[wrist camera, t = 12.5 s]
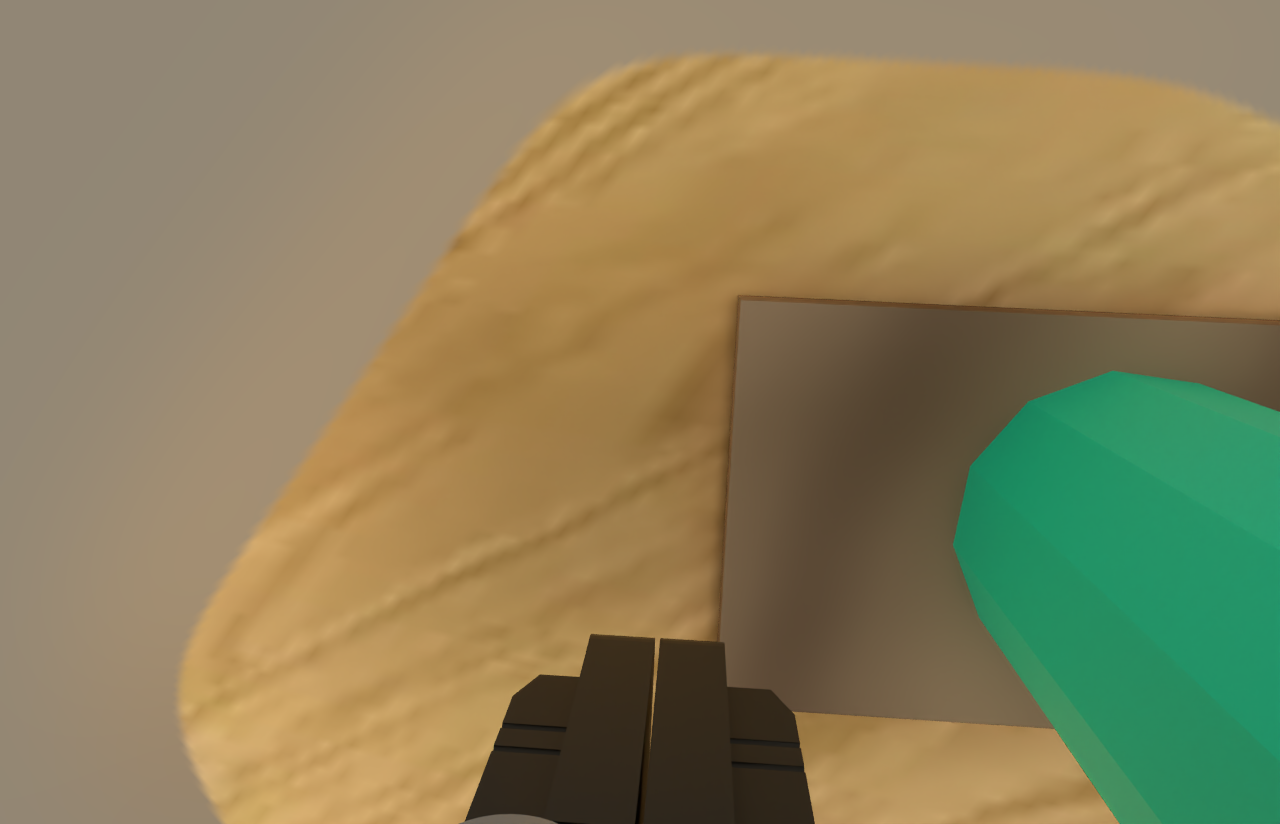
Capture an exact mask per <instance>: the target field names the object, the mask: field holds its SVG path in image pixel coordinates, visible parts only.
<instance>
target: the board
mask: <svg viewBox="0 0 1280 824" xmlns="http://www.w3.org/2000/svg"><path fill="white" fill-rule="evenodd" d="M1110 371H1118V372H1125V373H1131V374H1138V375H1145V376H1152V377H1159V378H1165V379H1172V380H1179V381H1186V382H1193V383H1199V384H1202V385H1205V386H1208V387H1211V388H1213V389H1216V390H1219V391H1222V392H1225V393H1228V394H1230V395H1233V396H1236V397H1239V398H1242V399H1245V400H1247V401H1250V402H1253V403H1256V404H1259V405H1262V406H1264V407H1267V408H1270V409H1273V410H1276V411H1278V412H1280V321H1278V320H1256V319H1235V318H1213V317H1192V316H1170V315H1149V314H1127V313H1106V312H1085V311H1063V310H1042V309H1020V308H999V307H977V306H956V305H934V304H913V303H891V302H870V301H849V300H827V299H806V298H784V297H763V296H741V295H739V298H738V314H737V330H736V347H735V363H734V379H733V395H732V412H731V428H730V444H729V460H728V477H727V493H726V509H725V526H724V542H723V558H722V574H721V591H720V607H719V623H718V639H717V642H724V643H725V658H726V676H727V687H740V688H755V689H770V690H772V691H773V692H774V693H775V694H776V696H777V697H778V698H779V699H780V700H781V701H782V702H783V703H784V704H785V705H786V706H787V707H788V708H789V709H790V710H791V711H794V712H809V713H824V714H839V715H855V716H870V717H885V718H900V719H915V720H930V721H945V722H960V723H976V724H991V725H1006V726H1021V727H1036V728H1051V729H1055V728H1054V727H1053V725H1052V724H1051V722H1050V721H1049V719H1048V718H1047V716H1046V715H1045V714H1044V712H1043V711H1042V709H1041V708H1040V706H1039V705H1038V703H1037V702H1036V700H1035V699H1034V697H1033V696H1032V694H1031V693H1030V692H1029V690H1028V689H1027V687H1026V686H1025V684H1024V683H1023V681H1022V680H1021V678H1020V677H1019V675H1018V674H1017V673H1016V671H1015V670H1014V668H1013V667H1012V665H1011V664H1010V662H1009V661H1008V659H1007V658H1006V656H1005V655H1004V653H1003V652H1002V651H1001V649H1000V648H999V646H998V645H997V643H996V642H995V640H994V639H993V637H992V636H991V634H990V633H989V631H988V630H987V629H986V627H985V626H984V624H983V623H982V621H981V620H980V618H979V616H978V613H977V610H976V608H975V605H974V602H973V599H972V597H971V594H970V591H969V588H968V585H967V583H966V580H965V577H964V574H963V572H962V569H961V566H960V563H959V560H958V558H957V555H956V552H955V549H954V547H953V543H954V538H955V534H956V529H957V524H958V520H959V515H960V511H961V506H962V501H963V497H964V492H965V488H966V483H967V478H968V474H969V469H970V466H971V465H972V463H973V462H974V461H975V460H976V459H977V458H978V457H979V456H980V455H981V453H982V452H983V451H984V450H985V449H986V448H987V447H988V446H989V445H990V443H991V442H992V441H993V440H994V439H995V438H996V437H997V436H998V435H999V433H1000V432H1001V431H1002V430H1003V429H1004V428H1005V427H1006V426H1007V425H1008V423H1009V422H1010V421H1011V420H1012V419H1013V418H1014V417H1015V416H1016V415H1017V413H1018V412H1019V411H1020V410H1021V409H1022V408H1023V407H1024V406H1025V405H1026V404H1027V402H1028V401H1031V400H1034V399H1037V398H1039V397H1042V396H1045V395H1048V394H1050V393H1053V392H1056V391H1058V390H1061V389H1064V388H1067V387H1069V386H1072V385H1075V384H1078V383H1080V382H1083V381H1086V380H1089V379H1091V378H1094V377H1097V376H1100V375H1102V374H1105V373H1108V372H1110Z"/></svg>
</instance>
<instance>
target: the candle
mask: <svg viewBox="0 0 1280 824" xmlns="http://www.w3.org/2000/svg"><path fill="white" fill-rule="evenodd" d="M953 547H954V549H955V552H956V555H957V558H958V560H959V563H960V566H961V569H962V572H963V574H964V577H965V580H966V583H967V585H968V588H969V591H970V594H971V597H972V599H973V602H974V605H975V608H976V610H977V613H978V616H979V618H980V620H981V621H982V623H983V624H984V626H985V627H986V629H987V630H988V631H989V633H990V634H991V636H992V637H993V639H994V640H995V642H996V643H997V645H998V646H999V648H1000V649H1001V651H1002V652H1003V653H1004V655H1005V656H1006V658H1007V659H1008V661H1009V662H1010V664H1011V665H1012V667H1013V668H1014V670H1015V671H1016V673H1017V674H1018V675H1019V677H1020V678H1021V680H1022V681H1023V683H1024V684H1025V686H1026V687H1027V689H1028V690H1029V692H1030V693H1031V694H1032V696H1033V697H1034V699H1035V700H1036V702H1037V703H1038V705H1039V706H1040V708H1041V709H1042V711H1043V712H1044V714H1045V715H1046V716H1047V718H1048V719H1049V721H1050V722H1051V724H1052V725H1053V727H1054V728H1055V730H1056V731H1057V733H1058V734H1059V736H1060V737H1061V738H1062V740H1063V741H1064V743H1065V744H1066V746H1067V747H1068V749H1069V750H1070V752H1071V753H1072V755H1073V756H1074V757H1075V759H1076V760H1077V762H1078V763H1079V765H1080V766H1081V768H1082V769H1083V771H1084V772H1085V774H1086V775H1087V777H1088V778H1089V779H1090V781H1091V782H1092V784H1093V785H1094V787H1095V788H1096V790H1097V791H1098V793H1099V794H1100V796H1101V797H1102V799H1103V800H1104V801H1105V803H1106V804H1107V806H1108V807H1109V809H1110V810H1111V812H1112V813H1113V815H1114V816H1115V818H1116V819H1117V821H1118V822H1119V823H1120V824H1280V412H1278V411H1276V410H1273V409H1270V408H1267V407H1264V406H1262V405H1259V404H1256V403H1253V402H1250V401H1247V400H1245V399H1242V398H1239V397H1236V396H1233V395H1230V394H1228V393H1225V392H1222V391H1219V390H1216V389H1213V388H1211V387H1208V386H1205V385H1202V384H1199V383H1193V382H1186V381H1179V380H1172V379H1165V378H1159V377H1152V376H1145V375H1138V374H1131V373H1125V372H1118V371H1110V372H1108V373H1105V374H1102V375H1100V376H1097V377H1094V378H1091V379H1089V380H1086V381H1083V382H1080V383H1078V384H1075V385H1072V386H1069V387H1067V388H1064V389H1061V390H1058V391H1056V392H1053V393H1050V394H1048V395H1045V396H1042V397H1039V398H1037V399H1034V400H1031V401H1028V402H1027V404H1026V405H1025V406H1024V407H1023V408H1022V409H1021V410H1020V411H1019V412H1018V413H1017V415H1016V416H1015V417H1014V418H1013V419H1012V420H1011V421H1010V422H1009V423H1008V425H1007V426H1006V427H1005V428H1004V429H1003V430H1002V431H1001V432H1000V433H999V435H998V436H997V437H996V438H995V439H994V440H993V441H992V442H991V443H990V445H989V446H988V447H987V448H986V449H985V450H984V451H983V452H982V453H981V455H980V456H979V457H978V458H977V459H976V460H975V461H974V462H973V463H972V465H971V466H970V469H969V474H968V478H967V483H966V488H965V492H964V497H963V501H962V506H961V511H960V515H959V520H958V524H957V529H956V534H955V538H954V543H953Z"/></svg>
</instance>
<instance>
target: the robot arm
mask: <svg viewBox="0 0 1280 824" xmlns="http://www.w3.org/2000/svg"><path fill="white" fill-rule="evenodd" d="M654 655H655V638H644V637H629V636H613V635H597V634H591V635H590V639H589V643H588V646H587V650H586V654H585V658H584V662H583V666H582V670H581V674H580V677H569V676H554V675H539V676H538V677H536V678H535V679H534V680H533V681H531V682H530V683H529V684H527V685H526V686H525V687H524V688H522V689H521V690H520V691H519V692H517V693H516V694H515V695H513V697H512V699H511V702H510V705H509V707H508V710H507V712H506V715H505V718H504V720H503V724H502V728H500V731H499V733H498V736H497V738H496V741H495V744H494V750H493V751H492V752H491V754H490V757H489V759H488V762H487V765H486V767H485V770H484V772H483V775H482V778H481V780H480V783H479V786H478V788H477V791H476V793H475V796H474V799H473V801H472V804H471V806H470V809H469V812H468V814H467V817H466V820H465V822H462V823H460V824H815V822H814V817H813V811H812V806H811V800H810V795H809V790H808V784H807V779H806V774H805V772H804V763H803V757H802V752H801V748H800V741H799V736H798V731H797V725H796V720H795V715H794V714H793V712H792V711H791V710H790V709H789V708H788V707H787V706H786V705H785V704H784V703H783V702H782V701H781V700H780V699H779V698H778V697H777V696H776V694H775V693H774V692H773V691H772V690H770V689H755V688H740V687H727V676H726V658H725V643H724V642H710V641H694V640H679V639H663V638H661V639H660V648H659V659H658V670H657V681H656V692H655V703H654V714H653V725H652V736H651V718H652V697H653V676H654ZM650 739H651V747H650Z"/></svg>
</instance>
